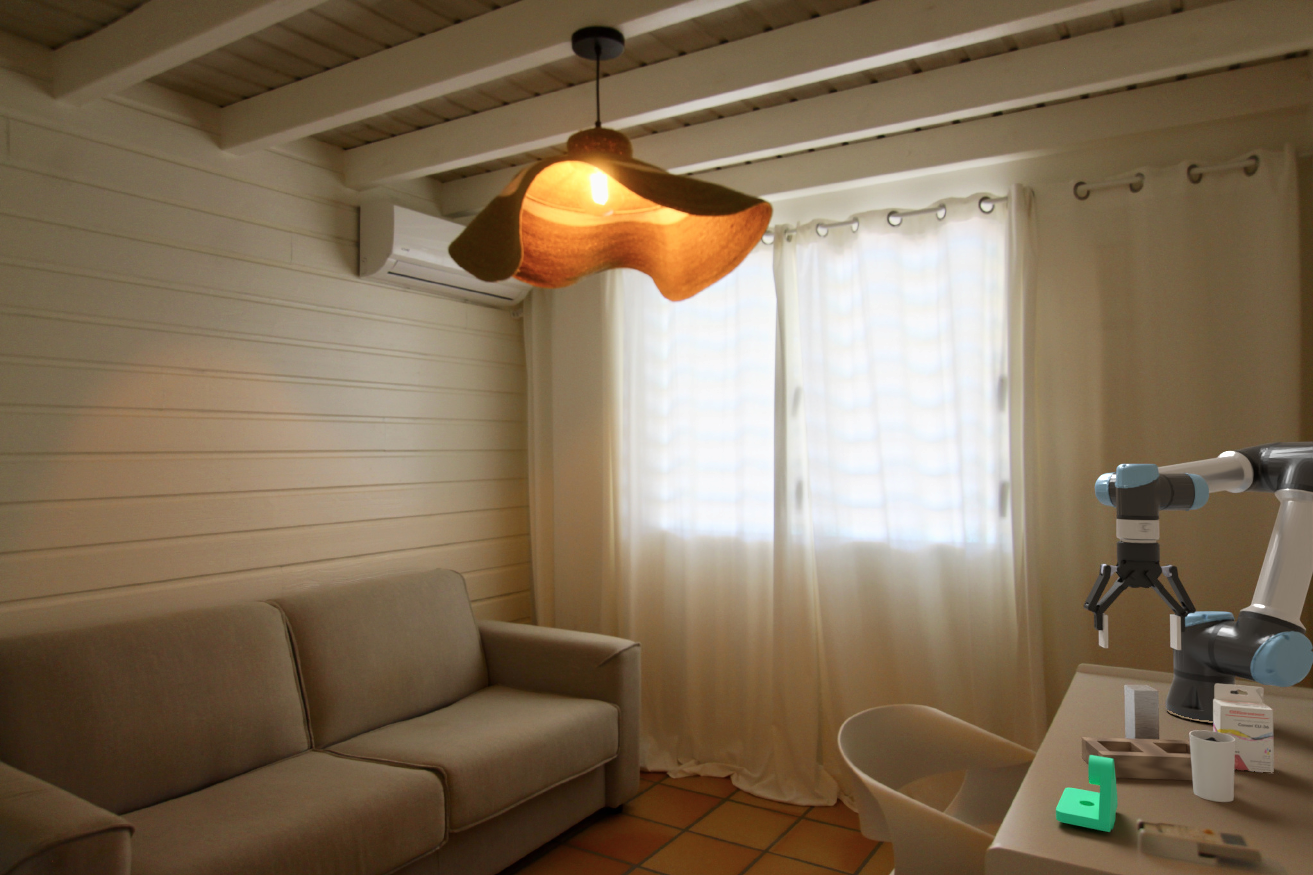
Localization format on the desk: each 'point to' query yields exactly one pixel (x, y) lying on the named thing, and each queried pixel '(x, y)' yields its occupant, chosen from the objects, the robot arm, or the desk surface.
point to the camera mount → (1092, 798)
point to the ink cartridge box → (1245, 725)
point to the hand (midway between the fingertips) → (1139, 647)
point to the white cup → (1212, 765)
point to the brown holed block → (1143, 757)
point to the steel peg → (1141, 712)
